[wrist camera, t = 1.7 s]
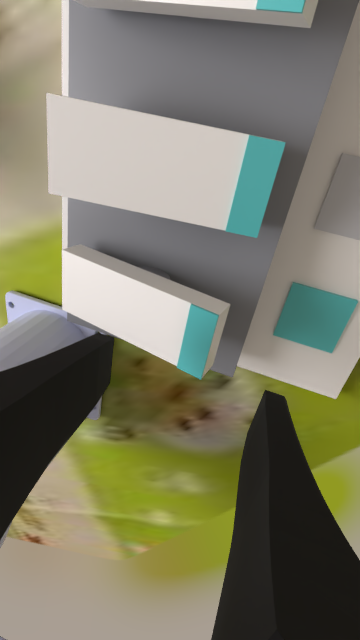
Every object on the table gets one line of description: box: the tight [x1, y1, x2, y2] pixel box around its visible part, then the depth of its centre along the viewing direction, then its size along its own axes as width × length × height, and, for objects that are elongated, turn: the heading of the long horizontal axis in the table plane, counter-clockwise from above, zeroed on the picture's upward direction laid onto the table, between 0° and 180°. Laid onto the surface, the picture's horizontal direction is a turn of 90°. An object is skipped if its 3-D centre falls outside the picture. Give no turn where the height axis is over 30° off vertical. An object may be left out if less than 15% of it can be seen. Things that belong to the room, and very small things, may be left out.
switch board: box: [62, 0, 360, 399], centre depth 15 cm, size 21×18×4 cm
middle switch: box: [46, 93, 286, 238], centre depth 13 cm, size 3×8×2 cm, turn 79°
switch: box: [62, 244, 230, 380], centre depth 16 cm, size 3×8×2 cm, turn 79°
